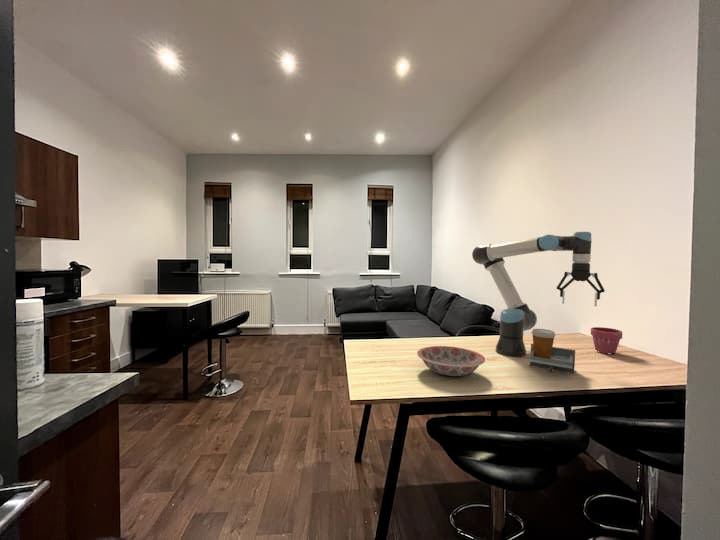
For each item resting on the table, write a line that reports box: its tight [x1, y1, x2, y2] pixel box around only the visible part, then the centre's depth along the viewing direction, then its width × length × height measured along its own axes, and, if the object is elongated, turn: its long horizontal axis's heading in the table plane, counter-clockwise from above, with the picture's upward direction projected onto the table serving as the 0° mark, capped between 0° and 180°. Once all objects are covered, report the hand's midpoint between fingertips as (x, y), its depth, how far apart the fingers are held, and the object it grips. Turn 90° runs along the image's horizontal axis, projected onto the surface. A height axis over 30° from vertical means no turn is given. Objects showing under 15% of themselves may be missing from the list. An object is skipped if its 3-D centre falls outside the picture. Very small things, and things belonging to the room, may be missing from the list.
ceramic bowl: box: [416, 345, 486, 377], centre depth 148 cm, size 29×29×8 cm
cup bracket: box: [529, 343, 576, 374], centre depth 151 cm, size 18×20×10 cm
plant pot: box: [590, 326, 623, 354], centre depth 185 cm, size 14×14×13 cm
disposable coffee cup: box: [531, 328, 556, 358], centre depth 150 cm, size 10×10×12 cm
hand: (578, 304), depth 167 cm, fingers open, 13 cm apart
